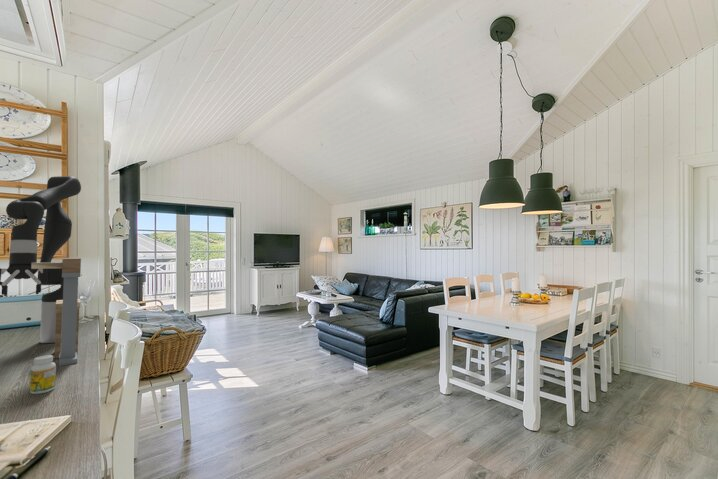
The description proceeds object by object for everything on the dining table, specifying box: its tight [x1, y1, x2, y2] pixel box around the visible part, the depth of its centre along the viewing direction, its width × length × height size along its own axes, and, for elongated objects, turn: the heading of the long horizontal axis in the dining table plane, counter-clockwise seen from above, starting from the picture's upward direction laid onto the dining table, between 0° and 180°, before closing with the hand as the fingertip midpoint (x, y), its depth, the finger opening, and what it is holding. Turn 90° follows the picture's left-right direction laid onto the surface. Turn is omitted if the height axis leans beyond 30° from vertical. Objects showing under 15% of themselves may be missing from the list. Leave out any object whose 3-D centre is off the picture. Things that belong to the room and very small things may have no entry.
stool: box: [53, 298, 81, 359], centre depth 132 cm, size 10×7×20 cm
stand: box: [57, 272, 81, 367], centre depth 124 cm, size 10×5×32 cm, turn 40°
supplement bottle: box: [29, 354, 57, 395], centre depth 99 cm, size 5×5×10 cm
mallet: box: [31, 257, 82, 274], centre depth 122 cm, size 8×13×5 cm, turn 130°
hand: (21, 295), depth 129 cm, fingers open, 8 cm apart
